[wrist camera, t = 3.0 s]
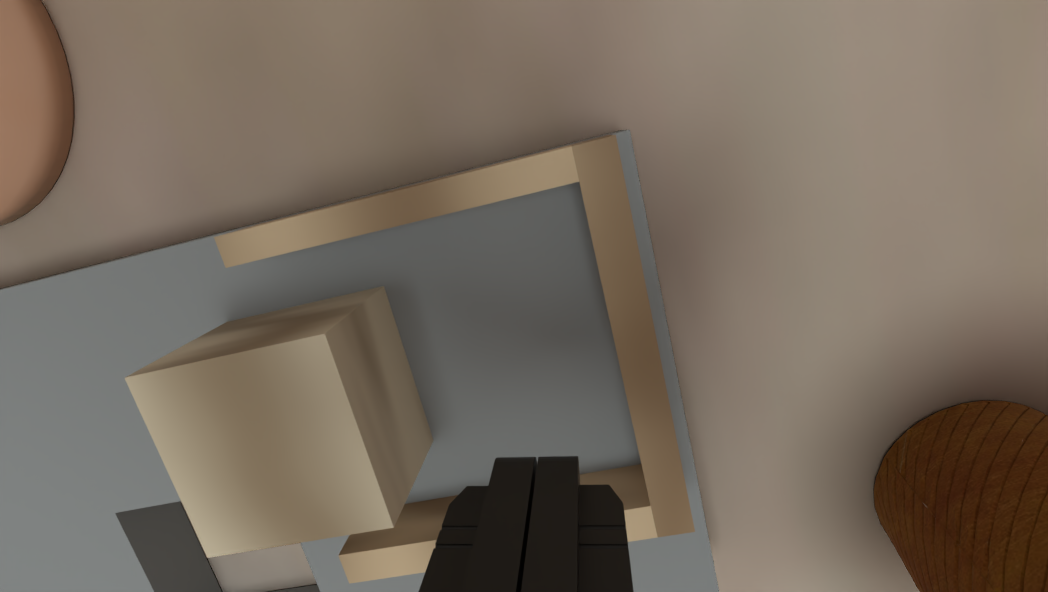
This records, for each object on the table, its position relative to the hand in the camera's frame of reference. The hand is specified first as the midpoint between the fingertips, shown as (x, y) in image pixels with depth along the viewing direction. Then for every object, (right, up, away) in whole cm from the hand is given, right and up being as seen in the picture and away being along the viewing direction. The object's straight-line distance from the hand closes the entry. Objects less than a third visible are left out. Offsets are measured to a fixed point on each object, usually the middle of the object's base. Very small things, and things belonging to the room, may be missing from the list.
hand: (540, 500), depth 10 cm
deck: (-8, -1, +10) cm, 13 cm away
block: (-6, +1, +7) cm, 9 cm away
